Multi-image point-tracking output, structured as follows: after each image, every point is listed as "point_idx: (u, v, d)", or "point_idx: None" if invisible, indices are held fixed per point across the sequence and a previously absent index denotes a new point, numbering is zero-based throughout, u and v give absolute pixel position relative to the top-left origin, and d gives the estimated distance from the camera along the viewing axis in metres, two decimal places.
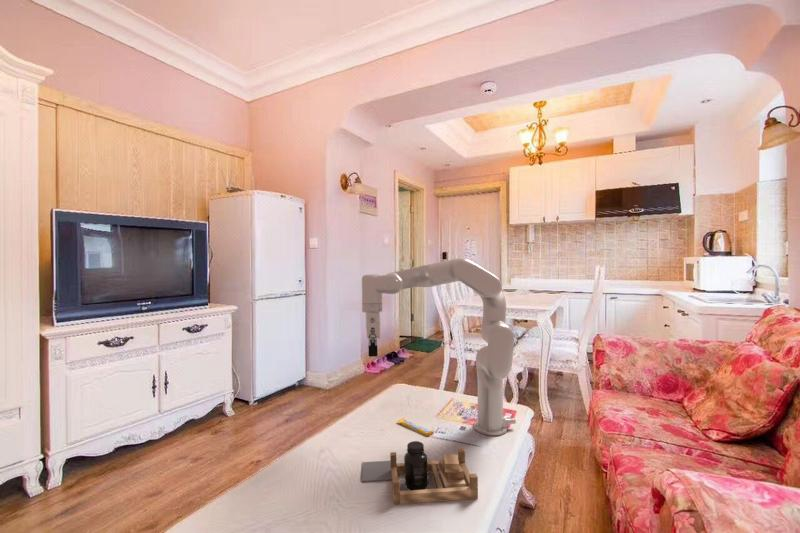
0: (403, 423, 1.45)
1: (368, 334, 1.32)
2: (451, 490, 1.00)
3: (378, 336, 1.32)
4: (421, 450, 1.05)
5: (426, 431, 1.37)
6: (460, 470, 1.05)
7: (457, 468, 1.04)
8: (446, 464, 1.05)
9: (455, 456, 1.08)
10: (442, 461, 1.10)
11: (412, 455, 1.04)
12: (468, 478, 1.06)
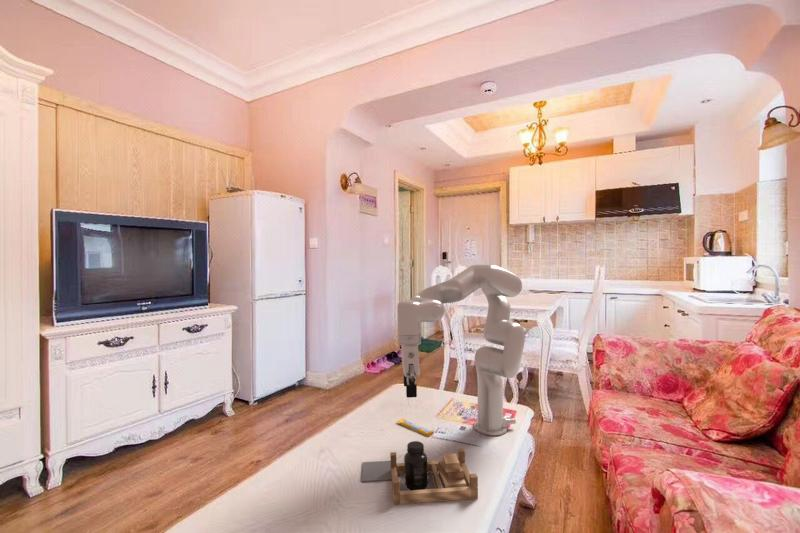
0: (403, 423, 1.44)
1: (406, 371, 1.13)
2: (451, 490, 1.00)
3: (417, 373, 1.13)
4: (421, 450, 1.05)
5: (426, 431, 1.37)
6: (460, 470, 1.06)
7: (458, 467, 1.05)
8: (447, 464, 1.05)
9: (454, 455, 1.09)
10: (441, 462, 1.10)
11: (412, 455, 1.04)
12: (468, 478, 1.06)
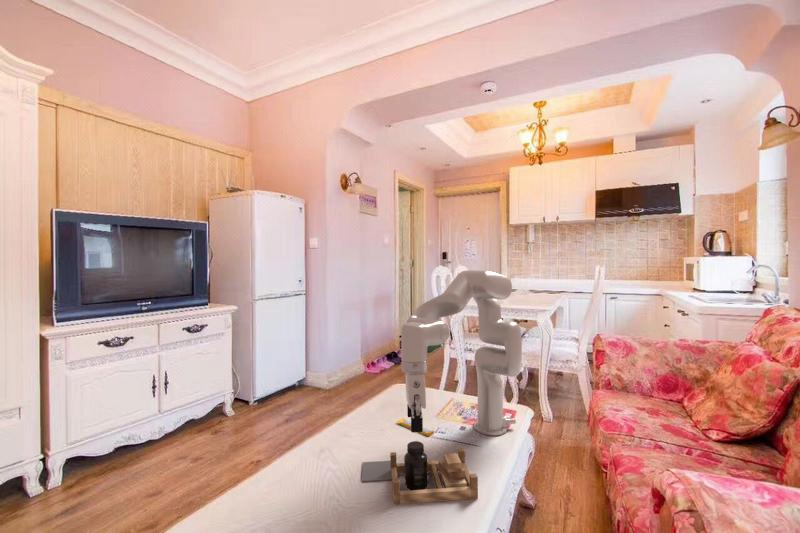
0: (403, 423, 1.44)
1: (411, 403, 1.01)
2: (451, 490, 1.00)
3: (424, 405, 1.01)
4: (421, 450, 1.05)
5: (426, 431, 1.37)
6: None
7: (460, 467, 1.05)
8: (449, 464, 1.05)
9: (455, 455, 1.09)
10: (442, 461, 1.10)
11: (412, 455, 1.04)
12: (468, 478, 1.06)
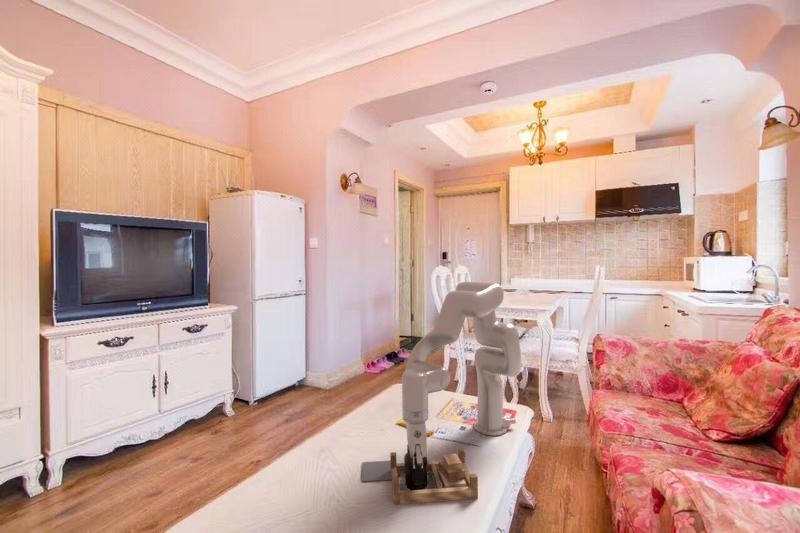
0: (403, 423, 1.44)
1: (412, 454, 1.02)
2: (451, 490, 1.00)
3: (425, 455, 1.02)
4: None
5: (426, 431, 1.37)
6: None
7: (460, 467, 1.05)
8: (449, 464, 1.04)
9: (455, 455, 1.09)
10: (441, 462, 1.10)
11: None
12: (468, 478, 1.06)
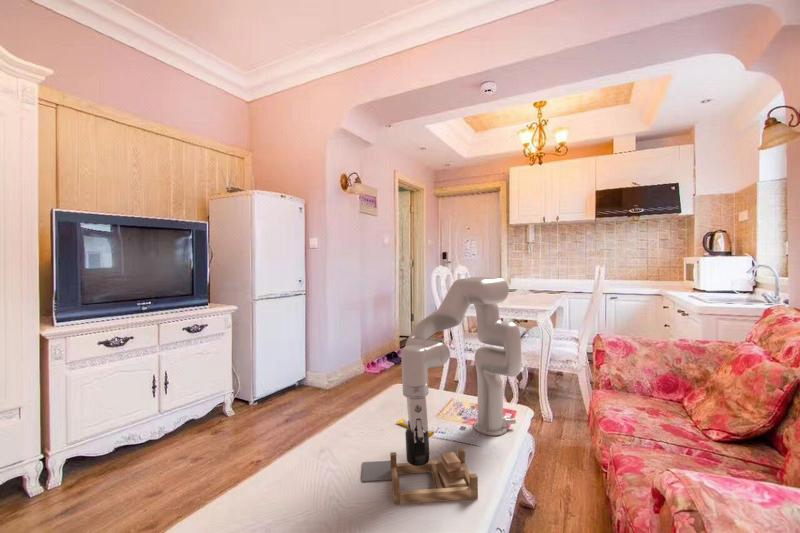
0: (403, 424, 1.44)
1: (413, 429, 1.02)
2: (451, 490, 1.00)
3: (426, 429, 1.02)
4: None
5: None
6: (461, 469, 1.06)
7: (459, 465, 1.06)
8: (449, 464, 1.05)
9: (452, 454, 1.09)
10: None
11: None
12: (468, 478, 1.06)
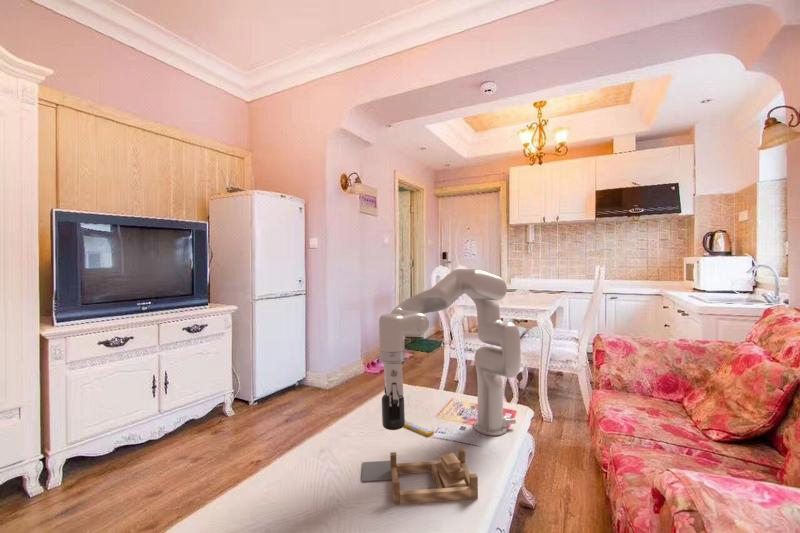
0: None
1: (388, 393, 1.05)
2: (451, 490, 1.00)
3: (401, 393, 1.05)
4: None
5: (426, 431, 1.37)
6: (461, 470, 1.06)
7: (459, 466, 1.05)
8: (448, 464, 1.04)
9: (452, 455, 1.09)
10: (440, 463, 1.09)
11: None
12: (468, 478, 1.06)
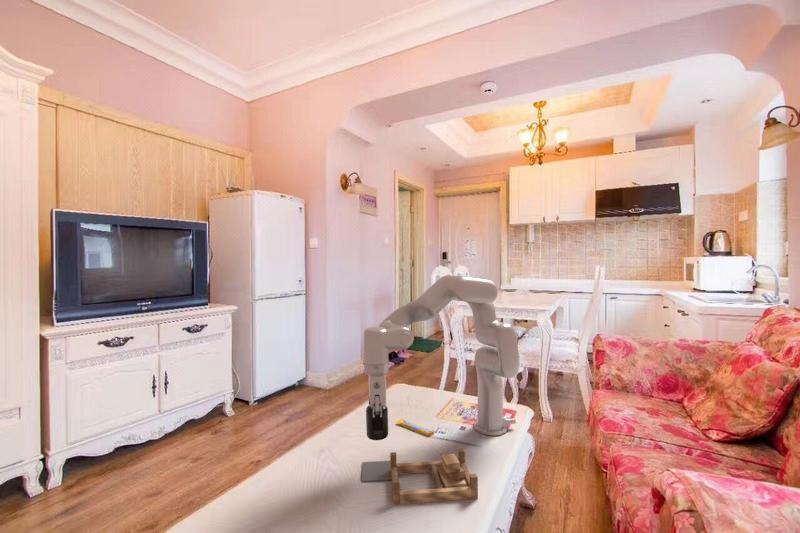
0: (403, 424, 1.44)
1: (372, 404, 1.09)
2: (451, 490, 1.00)
3: (384, 405, 1.09)
4: None
5: (427, 431, 1.37)
6: (461, 470, 1.05)
7: (458, 467, 1.05)
8: (448, 465, 1.04)
9: (453, 455, 1.09)
10: (441, 463, 1.09)
11: None
12: (468, 478, 1.06)
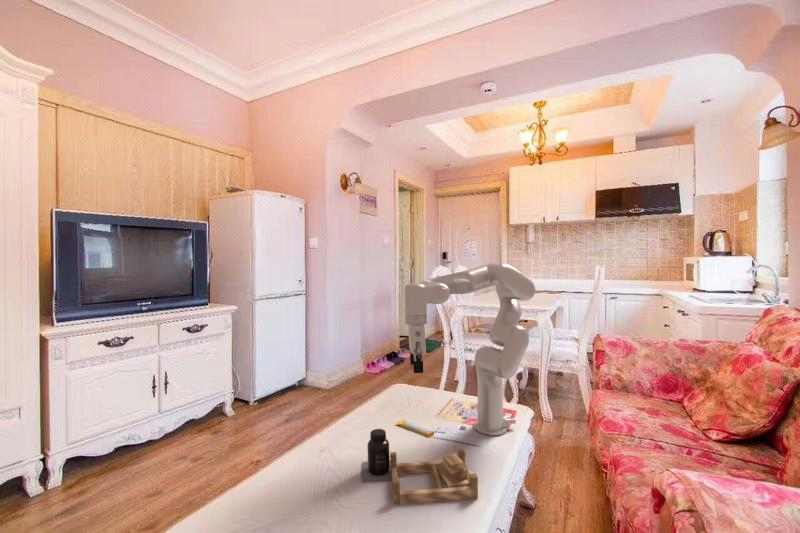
0: (403, 424, 1.43)
1: (413, 349, 1.21)
2: (451, 490, 1.00)
3: (424, 351, 1.21)
4: (383, 437, 1.12)
5: (427, 431, 1.37)
6: None
7: (462, 467, 1.05)
8: (452, 465, 1.04)
9: (454, 455, 1.09)
10: (442, 463, 1.09)
11: (374, 441, 1.12)
12: (468, 478, 1.06)
